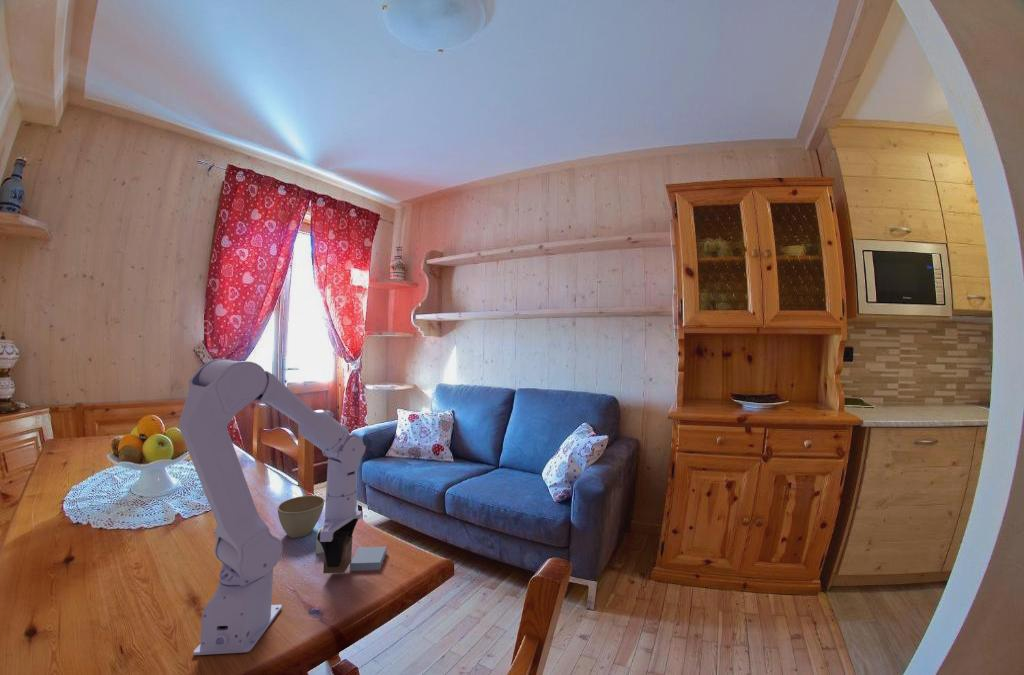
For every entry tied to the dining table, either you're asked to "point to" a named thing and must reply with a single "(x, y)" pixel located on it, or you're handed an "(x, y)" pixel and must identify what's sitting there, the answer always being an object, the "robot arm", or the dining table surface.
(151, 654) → the dining table surface
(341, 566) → the walnut block
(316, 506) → the flower pot
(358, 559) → the slate slab
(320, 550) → the sage block
